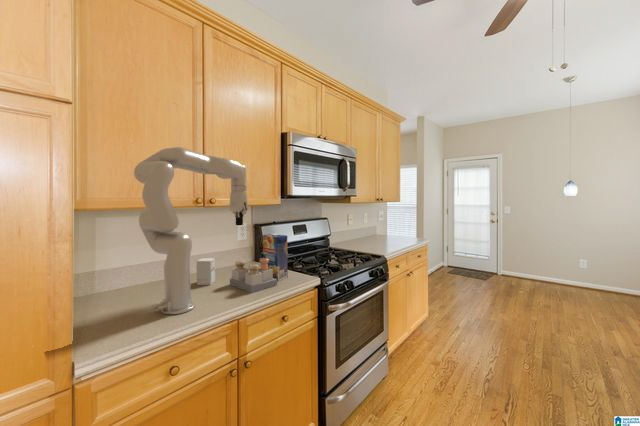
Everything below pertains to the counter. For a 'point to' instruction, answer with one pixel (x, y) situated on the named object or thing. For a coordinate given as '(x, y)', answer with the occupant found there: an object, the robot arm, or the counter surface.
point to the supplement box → (205, 271)
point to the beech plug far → (240, 265)
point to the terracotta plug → (264, 263)
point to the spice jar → (253, 269)
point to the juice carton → (276, 254)
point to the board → (252, 280)
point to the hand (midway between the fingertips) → (239, 224)
